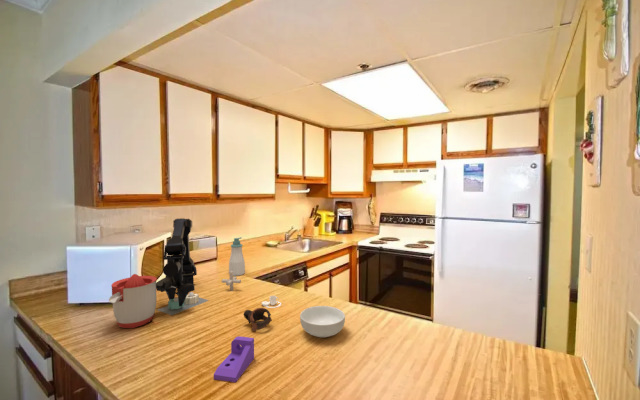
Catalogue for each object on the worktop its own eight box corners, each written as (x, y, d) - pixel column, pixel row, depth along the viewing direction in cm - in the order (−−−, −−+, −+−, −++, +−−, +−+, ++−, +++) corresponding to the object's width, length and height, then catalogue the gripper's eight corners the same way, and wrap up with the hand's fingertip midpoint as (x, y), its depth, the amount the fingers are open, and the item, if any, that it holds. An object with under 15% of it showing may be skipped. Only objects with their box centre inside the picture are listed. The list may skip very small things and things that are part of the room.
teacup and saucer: (259, 307, 135) (259, 298, 135) (267, 301, 143) (267, 292, 143) (277, 309, 133) (277, 300, 133) (283, 303, 140) (283, 294, 140)
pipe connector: (243, 287, 161) (243, 269, 161) (237, 293, 151) (236, 274, 151) (226, 286, 162) (226, 269, 162) (218, 293, 152) (218, 274, 152)
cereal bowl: (312, 348, 100) (312, 328, 99) (293, 328, 114) (293, 310, 114) (353, 337, 107) (353, 318, 107) (331, 319, 122) (331, 302, 122)
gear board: (156, 312, 129) (156, 299, 129) (194, 298, 145) (194, 287, 145) (171, 318, 123) (171, 304, 123) (209, 302, 140) (209, 291, 139)
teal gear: (165, 307, 130) (165, 301, 130) (178, 302, 135) (178, 296, 135) (174, 310, 127) (173, 303, 127) (186, 305, 132) (186, 299, 132)
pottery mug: (274, 321, 121) (275, 309, 117) (264, 342, 113) (265, 329, 109) (248, 312, 123) (248, 299, 119) (236, 331, 115) (236, 318, 111)
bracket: (234, 356, 96) (234, 335, 95) (254, 358, 94) (253, 338, 94) (213, 379, 84) (213, 356, 84) (235, 383, 82) (235, 359, 82)
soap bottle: (248, 273, 188) (247, 237, 187) (236, 277, 180) (235, 240, 179) (237, 270, 193) (237, 236, 193) (225, 274, 185) (225, 238, 184)
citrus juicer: (98, 329, 113) (96, 278, 113) (139, 311, 130) (138, 267, 129) (127, 336, 108) (125, 283, 107) (166, 317, 124) (165, 270, 124)
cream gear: (180, 303, 136) (180, 296, 136) (192, 298, 142) (192, 292, 142) (189, 305, 133) (189, 299, 133) (201, 301, 139) (201, 294, 139)
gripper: (145, 271, 128) (146, 306, 129) (170, 278, 119) (171, 316, 119) (169, 265, 138) (170, 298, 138) (195, 271, 128) (195, 306, 129)
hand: (176, 304), depth 131 cm, fingers closed on teal gear, 6 cm apart
